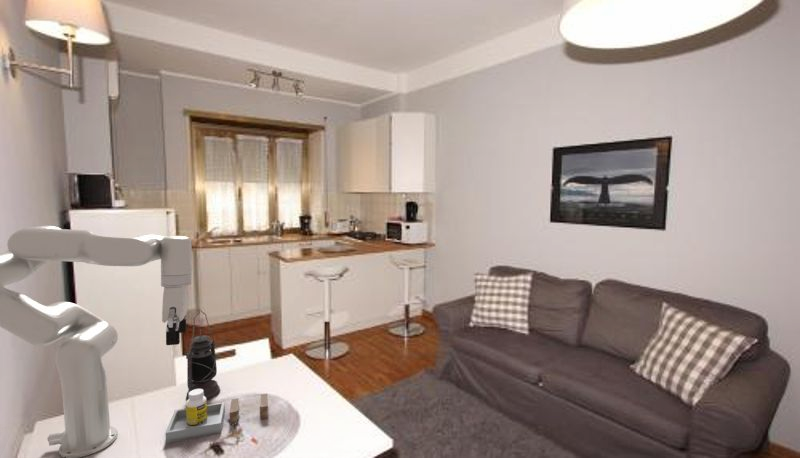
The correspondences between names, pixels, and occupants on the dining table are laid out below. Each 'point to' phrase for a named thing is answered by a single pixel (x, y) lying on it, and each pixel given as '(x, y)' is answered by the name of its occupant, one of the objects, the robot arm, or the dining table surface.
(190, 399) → the supplement bottle
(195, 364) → the lantern
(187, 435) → the tray
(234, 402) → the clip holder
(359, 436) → the dining table surface
